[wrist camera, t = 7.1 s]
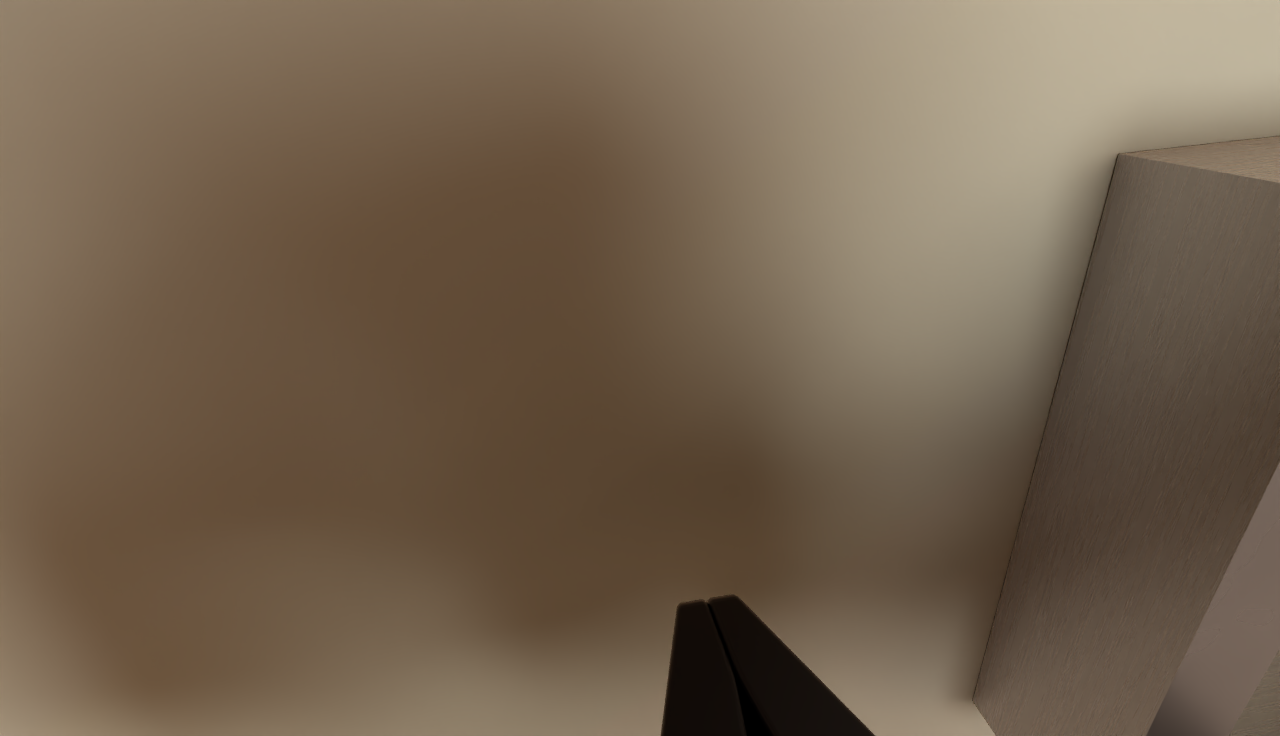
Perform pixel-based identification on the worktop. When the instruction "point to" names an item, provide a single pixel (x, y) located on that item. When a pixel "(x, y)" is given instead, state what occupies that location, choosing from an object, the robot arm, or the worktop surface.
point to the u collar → (1157, 472)
